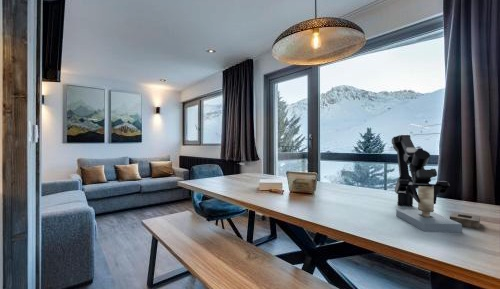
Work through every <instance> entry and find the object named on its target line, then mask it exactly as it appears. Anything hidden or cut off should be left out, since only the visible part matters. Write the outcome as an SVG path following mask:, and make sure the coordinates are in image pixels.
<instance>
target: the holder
mask: <svg viewBox="0 0 500 289" xmlns="http://www.w3.org/2000/svg"><path fill="white" fill-rule="evenodd" d="M449 219H451V220H453V221H456V222H458V223H460V224H462V227H467V228H473V229H477V230H478V229H480V225H481V215H476V214H475V215H474V214H469V213H464V212H463V213H462V212H456V211H452V212H451V214H450V215H449Z"/></svg>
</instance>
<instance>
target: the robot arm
mask: <svg viewBox="0 0 500 289" xmlns="http://www.w3.org/2000/svg"><path fill="white" fill-rule="evenodd" d="M391 144H392V148H393V150H394V151H395V152H396V155H397V164H398V165H397V166H398V171H399V172H398V174H399V177H398V178H397V180H396V183H395V186H394V192H395V194H396V195H397V202H396V203H397V205H398V206H405V207H413V204H414V201H416V203H417V204H418V203H420V200H419V197H418V190H417V189H418V186H428V187H433V188H434V205H436V204H437V198H438V195H439V194H447V192H448V191H449V189H450V187H451V184H450V183H449V181H445V180H436V182H435V183H431V181H432V178H436V177H438V172H437V170H436V169H435V168H430V169H425V167H427V164H428V162H429V159H430V156H431V154H430V152H428V151H427V150H424V149H423V148H421V147H420V148H416V146H415V145H414V142H413V141H412V139H411V135H410V134H408V133H407V134H404V133H403V134H398V135H396V136H393V137H392V138H391Z"/></svg>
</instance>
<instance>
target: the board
mask: <svg viewBox="0 0 500 289" xmlns="http://www.w3.org/2000/svg"><path fill="white" fill-rule="evenodd" d="M395 214H396V217H397V218H400V219H402V220H403V221H404V222H407V224H408V223H409V224H410V225H412V226H414V227H415V228H417V229H419V230H421V231H422V232H431V233H432V232H437V233H438V232H441V233H445V232H446V233H447V232H449V233H451V232H452V233H455V232H456V233H457V232H458V233H462V232H463V226H462V224H460V223H458V222H456V221H453V220H451V219H450V217H449V218H448V217H446V216H444V215H442V214H440V213H436V212H435V211H434V212H430V218H424V217H422V211H420V210H418V208H417V209H406V208H405V209H399V208H398V209H397V208H396V210H395Z"/></svg>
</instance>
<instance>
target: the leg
mask: <svg viewBox="0 0 500 289" xmlns="http://www.w3.org/2000/svg"><path fill="white" fill-rule="evenodd" d="M417 194H418V197H419V200H420V203H418V202H417V204H418V205H417V209H418V210H420V211H422V217H424V218H430V212H434V213H435V209H434V208H435V206H434V205H435V204H434V188H433V187H428V186H418V188H417Z"/></svg>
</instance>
